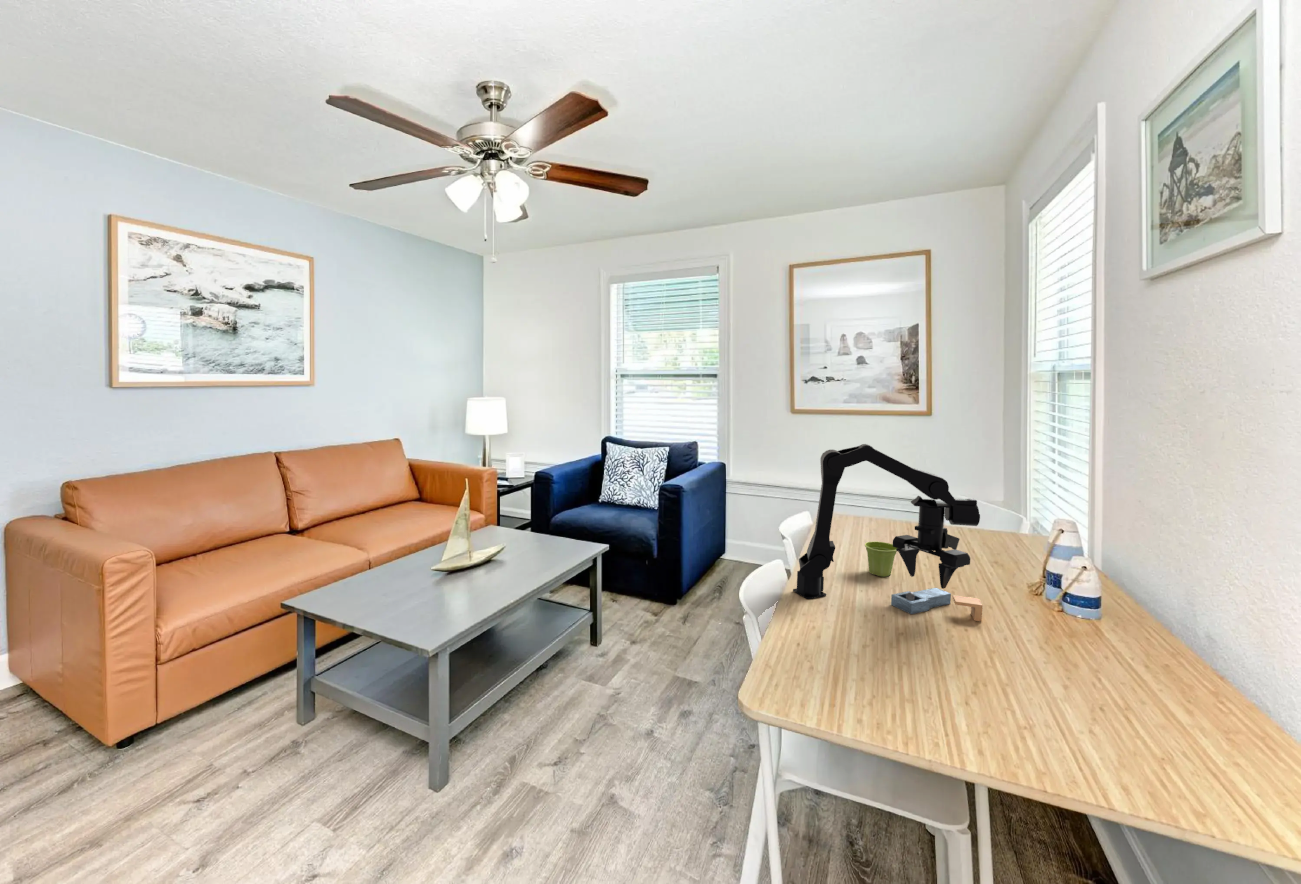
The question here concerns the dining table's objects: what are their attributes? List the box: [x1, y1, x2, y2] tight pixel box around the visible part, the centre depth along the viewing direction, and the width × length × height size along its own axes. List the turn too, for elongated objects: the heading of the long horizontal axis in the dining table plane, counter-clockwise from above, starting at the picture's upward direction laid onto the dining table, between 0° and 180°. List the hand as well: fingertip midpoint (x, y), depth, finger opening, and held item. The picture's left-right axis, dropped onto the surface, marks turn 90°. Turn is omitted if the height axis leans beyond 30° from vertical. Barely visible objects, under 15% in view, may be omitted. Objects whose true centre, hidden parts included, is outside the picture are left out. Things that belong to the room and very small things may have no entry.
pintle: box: [906, 591, 915, 601], centre depth 134 cm, size 2×2×4 cm
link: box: [890, 587, 952, 615], centre depth 135 cm, size 15×6×3 cm, turn 113°
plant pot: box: [864, 541, 898, 578], centre depth 159 cm, size 9×9×9 cm
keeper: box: [952, 594, 984, 622], centre depth 129 cm, size 6×4×4 cm
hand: (927, 582), depth 135 cm, fingers open, 9 cm apart
